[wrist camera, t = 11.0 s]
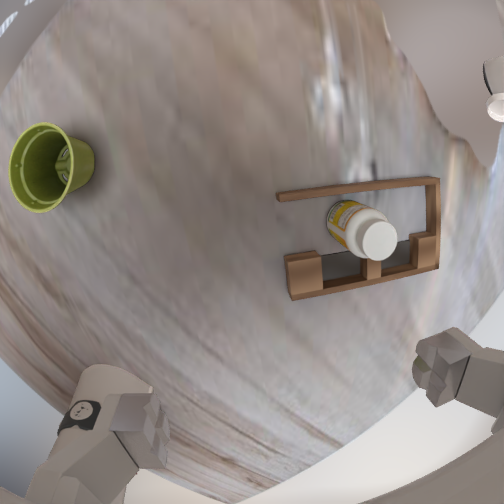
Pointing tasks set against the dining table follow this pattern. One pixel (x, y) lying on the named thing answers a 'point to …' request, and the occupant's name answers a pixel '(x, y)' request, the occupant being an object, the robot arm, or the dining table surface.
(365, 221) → the supplement bottle
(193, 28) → the dining table surface
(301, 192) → the frame
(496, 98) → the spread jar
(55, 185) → the plant pot
